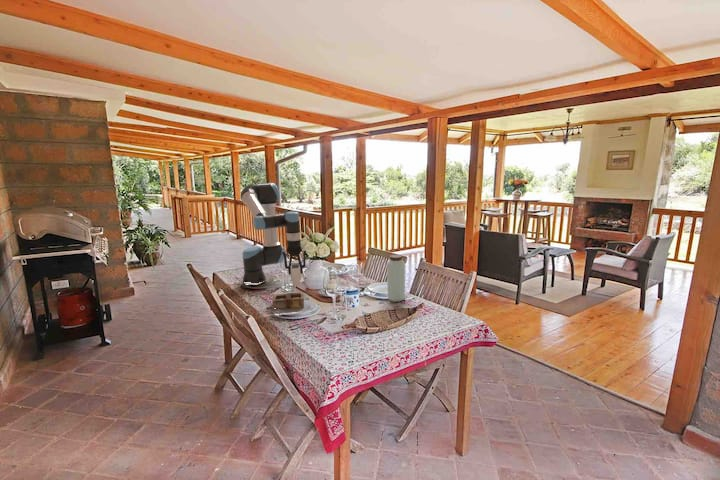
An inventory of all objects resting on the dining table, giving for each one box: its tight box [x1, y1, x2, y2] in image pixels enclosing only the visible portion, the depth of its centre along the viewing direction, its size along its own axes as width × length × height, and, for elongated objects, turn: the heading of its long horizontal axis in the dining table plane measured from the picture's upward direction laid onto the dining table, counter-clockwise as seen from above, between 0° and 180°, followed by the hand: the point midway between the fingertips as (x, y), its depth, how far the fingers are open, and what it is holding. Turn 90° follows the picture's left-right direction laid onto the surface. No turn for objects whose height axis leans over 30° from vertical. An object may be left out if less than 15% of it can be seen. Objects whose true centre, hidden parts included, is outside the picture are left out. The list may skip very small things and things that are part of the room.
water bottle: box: [386, 254, 406, 303], centre depth 198 cm, size 10×10×25 cm
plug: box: [291, 262, 301, 286], centre depth 202 cm, size 4×4×12 cm
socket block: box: [272, 291, 305, 310], centre depth 193 cm, size 10×16×6 cm, turn 99°
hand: (296, 279), depth 203 cm, fingers closed on plug, 4 cm apart
